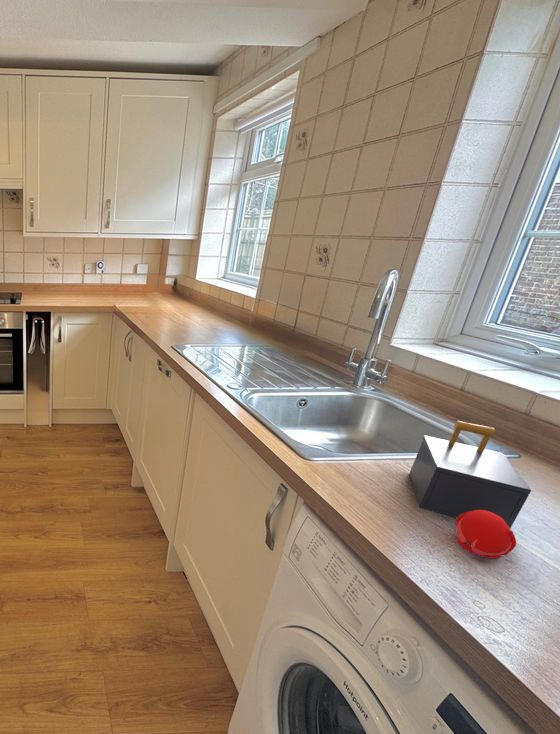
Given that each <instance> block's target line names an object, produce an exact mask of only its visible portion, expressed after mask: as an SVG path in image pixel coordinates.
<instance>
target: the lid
mask: <svg viewBox="0 0 560 734" xmlns="http://www.w3.org/2000/svg"><path fill="white" fill-rule="evenodd" d="M453 428H454V430H453V432H452V434H451V436H450V439H449V440H447V439H443V438H437V437H434V436H429V435H425V434H424V435H423V436H422V442H423V441H424V443H425V446H426V448H427V451H428V453H429V456H430V458H431V461H432V463H433V466H434V468H435V470H436V471H440V472H444V473H448V474H452V475H455V476H459V477H463V478H467V479H471V480H475V481H479V482H483V483H487V484H491V485H495V486H499V487H503V488H506V489H510V490H514V491H518V492H522V493H526V494H529V495H530V494H531V492H532V488H530V486H529V485H528V483H527V482H526V481H525V480H524V478H523V476H521V474H520V473H519V472H518V470H517V469H516V468H515V467H514V465H513V464H512V462H511V461H510V460H509V458H508V457H507V456H506V455H505V453H504V452H500V451H495V450H491V449H487V448H486V446H487V445H488V444H489V443H488V442H489V441H490V438H491V437H493V436H494V435H495V432H496V429H495V428H494V427H491V426H485V425H480V424H476V423H470V422H465V421H460V420H457V421H455V422H454V427H453ZM461 431H463V432H468V433H472V434H477V435H482V438H481V440H480V442H479V445H478V446H475V445H468V444H465V443H460V442H457V440H458V438H459V435H460V433H461Z"/></svg>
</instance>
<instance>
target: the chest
mask: <svg viewBox="0 0 560 734" xmlns="http://www.w3.org/2000/svg"><path fill="white" fill-rule="evenodd" d="M409 477H410V480H411V484H412V487H413V490H414V495H415V498H416V501H417V504H418V507H419V508H421V509H424V510H428V511H431V512H435V513H438V514H442V515H445V516H448V517H451V518H454V519H457V518H458V516H459V515H461V514H463V513H466V512H468V511H474V510H486V511H490V512H492V513H494V514H496V515H498V516H500V517H501V518H503V519H504V521H505V522H506V524H507V525H508V527H509V529H510V530H511V528H512V526H513V525H514V523H515V521H516V519H517V518H518V516H519V513H520V512H521V511H522V508H523V506H524V505H525V503H526V501H527V499H528V498H529V497H530V494H526V493H522V492H518V491H514V490H510V489H506V488H503V487H499V486H495V485H491V484H487V483H483V482H479V481H475V480H471V479H467V478H463V477H459V476H455V475H452V474H448V473H444V472H440V471H436V470H435V468H434V466H433V463H432V461H431V458H430V456H429V453H428V451H427V448H426V446H425V443H424V441H423V440H422V442H421V444H420V447H419V449H418V451H417V453H416V456H415V459H414V461H413V463H412V466H411V468H410V471H409Z"/></svg>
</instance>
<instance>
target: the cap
mask: <svg viewBox="0 0 560 734" xmlns="http://www.w3.org/2000/svg"><path fill="white" fill-rule="evenodd" d="M455 531H456V532H455V533H456V541H457V544H458V545H459V546H460V547H462V549H464V550H466V551H467V552H468V553H471V554H472V555H475V556H478V557H482V558H487V559H499V558H501V557H502V556H507V555H508V554H509V553H511V552H512V551H513V550H514V549H515V547H516V546H517V538H516V537H515V534H514V531H513V530H511V528H510V529H509V527H508V525H507V524H506V522H505V521H504V519H503V518H501V517H500V516H498V515H496V514H494V513H492V512H490V511H486V510H474V511H468V512H466V513H463V514H461V515H459V516H458V518H456V521H455ZM467 542H468V543H467Z"/></svg>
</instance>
